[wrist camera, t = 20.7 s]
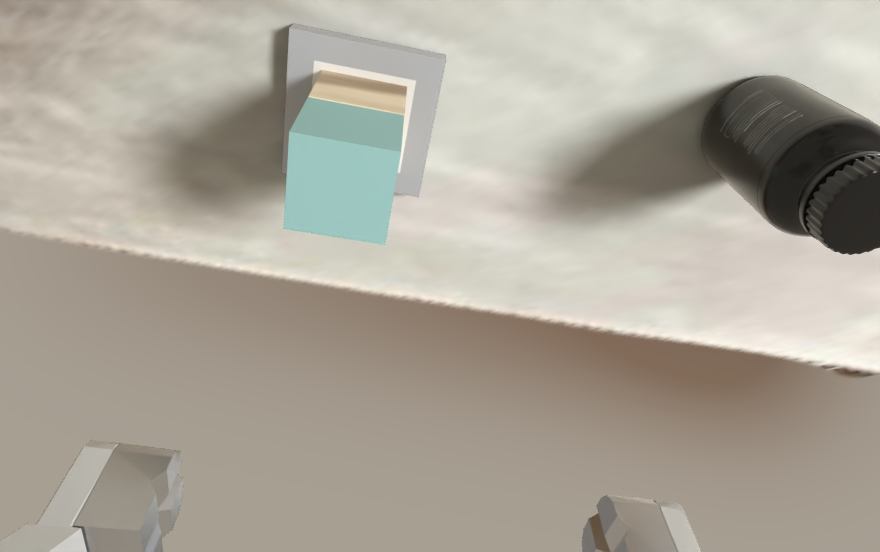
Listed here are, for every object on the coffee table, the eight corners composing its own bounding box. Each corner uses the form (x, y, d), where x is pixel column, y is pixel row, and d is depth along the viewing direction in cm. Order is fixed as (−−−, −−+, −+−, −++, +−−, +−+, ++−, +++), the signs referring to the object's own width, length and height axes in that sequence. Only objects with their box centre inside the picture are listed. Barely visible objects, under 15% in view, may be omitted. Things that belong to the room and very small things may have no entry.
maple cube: (322, 69, 34) (308, 95, 30) (407, 86, 34) (404, 114, 30) (315, 149, 36) (301, 183, 32) (394, 163, 37) (390, 198, 33)
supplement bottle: (702, 187, 40) (794, 288, 30) (694, 93, 36) (795, 173, 26) (806, 156, 39) (937, 250, 29) (809, 56, 35) (959, 125, 25)
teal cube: (308, 96, 30) (289, 131, 26) (404, 115, 30) (401, 152, 26) (301, 184, 32) (283, 228, 28) (389, 199, 33) (385, 245, 29)
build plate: (293, 23, 33) (289, 27, 32) (445, 54, 35) (446, 60, 34) (285, 166, 38) (281, 173, 37) (418, 189, 40) (418, 197, 39)
